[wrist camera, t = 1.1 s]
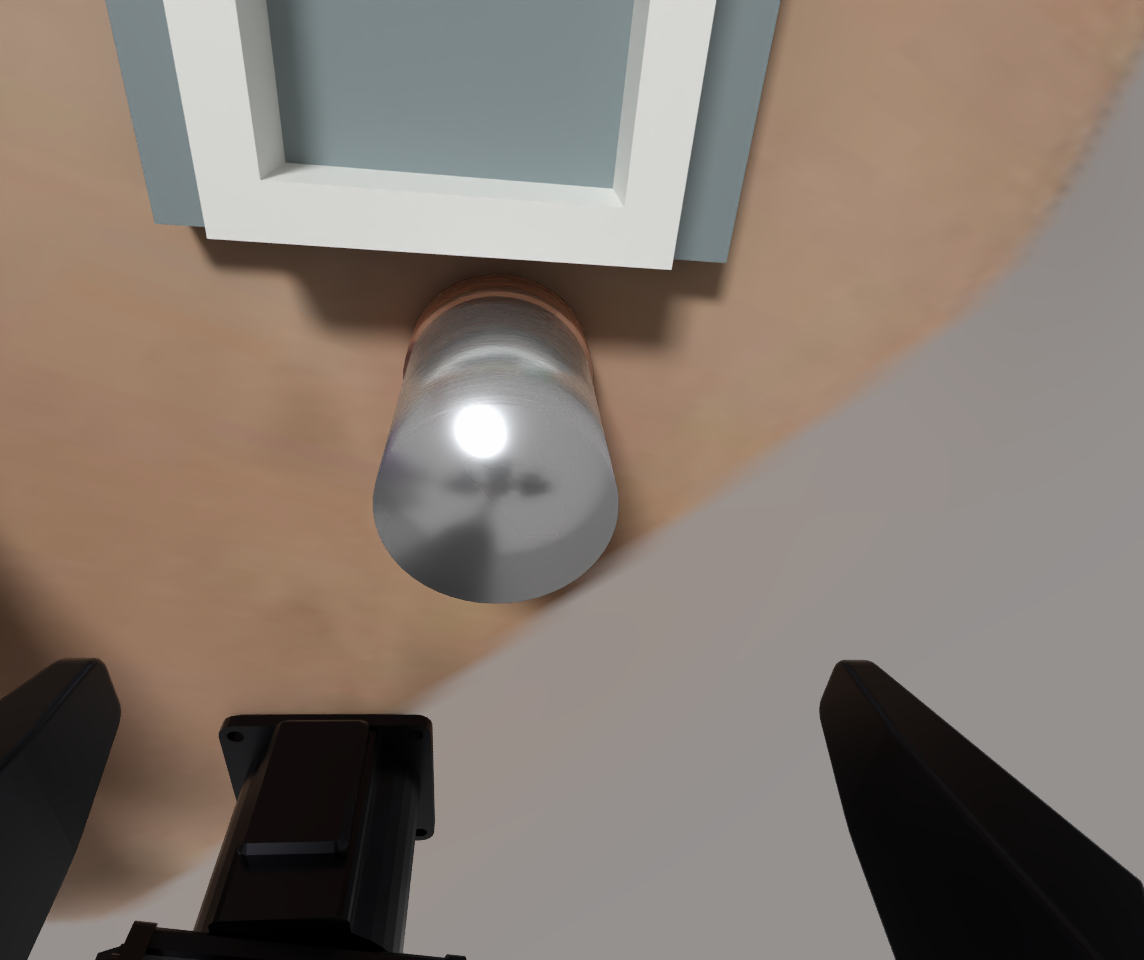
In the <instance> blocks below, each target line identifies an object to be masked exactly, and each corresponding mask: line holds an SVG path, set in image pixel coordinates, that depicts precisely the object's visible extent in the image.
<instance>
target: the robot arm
mask: <svg viewBox="0 0 1144 960" xmlns="http://www.w3.org/2000/svg"><path fill="white" fill-rule="evenodd" d="M819 710H820V711H819V712H820V720H821V724H822V728H823V732H824V736H825V740H826V744H827V748H828V752H829V756H830V760H831V764H832V768H833V772H834V776H835V780H836V784H837V788H838V791H839V795H840V799H841V803H842V807H843V811H844V815H845V819H846V822H847V826H848V829H849V833H850V835H851V839H852V842H853V844H854V847H855V850H856V853H857V856H858V858H859V861H860V864H861V867H862V870H863V872H864V875H865V878H866V881H867V883H868V886H869V889H870V891H871V894H872V897H873V899H874V902H875V905H876V908H877V911H878V913H879V916H880V919H881V921H882V924H883V927H884V929H885V932H886V935H887V938H888V941H889V943H890V946H891V949H892V952H893V954H894V957H895V960H1144V887H1143V884H1142V882H1141V881H1140V880H1139V879H1138V878H1137V877H1135V876H1134V875H1133V874H1132V873H1130V872H1129V871H1128V870H1127V869H1126V868H1124V867H1123V866H1122V865H1121V864H1120V863H1118V862H1117V861H1116V860H1115V859H1113V858H1112V857H1111V856H1110V855H1109V854H1107V853H1106V852H1105V851H1104V850H1102V849H1101V848H1100V847H1099V846H1098V845H1096V844H1095V843H1094V842H1092V841H1091V840H1090V839H1089V838H1088V837H1086V836H1085V835H1084V834H1083V833H1081V832H1080V831H1079V830H1078V829H1077V828H1075V827H1074V826H1073V825H1072V824H1071V823H1069V822H1068V821H1067V820H1065V819H1064V818H1063V817H1062V816H1061V815H1059V814H1058V813H1057V812H1056V811H1055V810H1053V809H1052V808H1051V807H1050V806H1048V805H1047V804H1046V803H1045V802H1044V801H1042V800H1041V799H1040V798H1039V797H1038V796H1036V795H1035V794H1034V793H1033V792H1031V791H1030V790H1029V789H1028V788H1026V787H1025V786H1024V785H1023V784H1021V783H1020V782H1019V781H1018V780H1017V779H1016V778H1014V777H1013V776H1012V775H1011V774H1009V773H1008V772H1007V771H1006V770H1005V769H1003V768H1002V767H1001V766H1000V765H998V764H997V763H996V762H995V761H994V760H992V759H991V758H990V757H989V756H987V755H986V754H985V753H984V752H982V751H981V750H980V749H979V748H978V747H976V746H975V745H974V744H972V743H971V742H970V741H969V740H968V739H967V738H965V737H964V736H963V735H962V734H960V733H959V732H958V731H957V730H956V729H954V728H953V727H952V726H951V725H949V724H948V723H947V722H946V721H945V720H943V719H942V718H941V717H940V716H938V715H937V714H936V713H935V712H934V711H932V710H931V709H930V708H929V707H927V706H926V705H925V704H924V703H923V702H921V701H920V700H919V699H918V698H916V697H915V696H914V695H913V694H912V693H910V692H909V691H908V690H907V689H905V688H904V687H903V686H902V685H901V684H899V683H898V682H897V681H896V680H894V679H893V678H892V677H891V676H890V675H888V674H887V673H886V672H885V671H883V670H882V669H881V668H880V667H878V666H877V665H876V664H874V663H873V662H871V661H867V660H842V661H840V662H838V663H837V664H836V665H835V667H834V669H833V672H832V674H831V676H830V679H829V681H828V684H827V686H826V689H825V691H824V693H823V696H822V698H821V702H820V708H819ZM120 717H121V708H120V702H119V700H118V697H117V694H116V692H115V689H114V686H113V684H112V681H111V678H110V676H109V673H108V670H107V668H106V666H105V664H104V663H103V662H102V661H101V660H100V659H96V658H64V659H60V660H58V661H56V662H54V663H53V664H51V665H50V666H48V667H47V668H45V669H44V670H43V671H41V672H40V673H38V674H37V675H35V676H34V677H32V678H31V679H30V680H28V681H27V682H25V683H24V684H22V685H21V686H20V687H18V688H17V689H15V690H14V691H12V692H11V693H10V694H8V695H7V696H5V697H4V698H2V699H1V700H0V960H27V959H28V957H29V954H30V952H31V950H32V948H33V946H34V944H35V941H36V939H37V937H38V935H39V933H40V930H41V928H42V926H43V924H44V922H45V920H46V917H47V915H48V913H49V911H50V909H51V906H52V904H53V902H54V900H55V898H56V896H57V893H58V891H59V889H60V887H61V885H62V882H63V880H64V878H65V876H66V874H67V871H68V869H69V867H70V864H71V862H72V860H73V857H74V855H75V852H76V850H77V847H78V844H79V842H80V839H81V836H82V833H83V831H84V828H85V825H86V822H87V819H88V816H89V813H90V810H91V807H92V804H93V801H94V798H95V795H96V792H97V789H98V786H99V783H100V780H101V777H102V774H103V771H104V768H105V765H106V762H107V759H108V756H109V753H110V750H111V747H112V744H113V741H114V738H115V735H116V732H117V729H118V726H119V722H120ZM432 734H433V733H432V722H431V720H429V719H428V718H427V717H425V716H422V715H264V716H231V717H229V718H226V719H225V720H224V722H223V724H222V726H221V729H220V731H219V740H220V743H221V747H222V750H223V754H224V758H225V761H226V765H227V768H228V772H229V775H230V779H231V782H232V786H233V790H234V793H235V797H236V800H237V803H236V806H235V809H234V811H233V814H232V817H231V820H230V823H229V826H228V829H227V832H226V835H225V838H224V841H223V844H222V847H221V850H220V853H219V856H218V859H217V862H216V865H215V868H214V871H213V873H212V876H211V879H210V882H209V885H208V889H207V891H206V894H205V897H204V900H203V903H202V906H201V909H200V912H199V915H198V918H197V921H196V924H195V927H194V930H193V931H187V930H178V929H168V928H159V927H157V923H151V922H142V921H134V923H133V925H132V928H131V930H130V932H129V934H128V936H127V939H126V941H125V943H124V944H121V946H119V947H116V948H113V949H110V950H106V951H103V952H100V953H98V954H97V957H96V959H95V960H466V957H465V956H458V955H449V954H447V955H446V956H445V958H441V957H432V956H423V955H413V954H404V953H403V945H404V936H405V927H406V917H407V909H408V900H409V891H410V881H411V871H412V863H413V854H414V845H415V840H426V839H428V838H430V837H431V836H433V834H434V826H435V825H434V824H435V810H434V772H433V735H432Z"/></svg>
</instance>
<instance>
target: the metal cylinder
mask: <svg viewBox="0 0 1144 960" xmlns="http://www.w3.org/2000/svg"><path fill="white" fill-rule="evenodd" d="M593 380H594V377H593V367H592V363H591V359H590V355H589V351H588V347H587V343H586V338H585V335H584V332H583V330H582V327H581V325H580V323H579V321H578V319H577V318H576V316H575V314H574V313H573V312H572V310H571V309H570V308H569V306H568V305H567V304H566V303H565V302H564V301H563V300H562V299H561V298H560V297H558V296H557V295H556V294H555V293H553V292H552V291H551V290H549V289H547V288H546V287H544V286H542V285H540V284H538V283H536V282H533V281H531V280H528V279H525V278H521V277H517V276H511V275H504V274H490V275H482V276H477V277H473V278H469V279H466V280H463V281H461V282H459V283H456V284H454V285H452V286H451V287H449V288H447V289H446V290H444V291H443V292H442V293H440V294H439V295H438V296H436V297H435V298H434V299H433V300H432V301H431V302H430V304H429V305H428V306H427V307H426V308H425V310H424V311H423V313H422V314H421V315H420V317H419V319H418V321H417V323H416V325H415V328H414V331H413V334H412V337H411V340H410V344H409V347H408V351H407V355H406V358H405V364H404V371H403V384H402V388H401V391H400V395H399V399H398V402H397V406H396V409H395V413H394V417H393V420H392V424H391V428H390V431H389V435H388V439H387V442H386V446H385V450H384V453H383V457H382V461H381V464H380V468H379V472H378V475H377V479H376V483H375V488H374V494H373V513H374V520H375V524H376V528H377V531H378V534H379V536H380V538H381V540H382V542H383V544H384V546H385V548H386V549H387V551H388V552H389V554H390V555H391V557H392V558H393V559H394V560H395V561H396V562H397V563H398V565H399V566H400V567H401V568H402V569H403V570H405V571H406V572H407V573H408V574H409V575H411V576H412V577H413V578H414V579H416V580H418V581H419V582H421V583H422V584H424V585H425V586H427V587H429V588H431V589H433V590H435V591H437V592H440V593H443V594H445V595H448V596H451V597H454V598H458V599H462V600H466V601H472V602H479V603H494V604H495V603H512V602H520V601H526V600H530V599H534V598H538V597H541V596H544V595H547V594H550V593H552V592H554V591H556V590H558V589H561V588H563V587H565V586H566V585H568V584H570V583H571V582H573V581H575V580H576V579H577V578H579V577H580V576H581V575H582V574H584V573H585V572H586V571H587V570H588V569H589V568H590V567H591V566H592V565H593V564H594V563H595V562H596V561H597V560H598V559H599V557H600V556H601V555H602V553H603V552H604V550H605V549H606V547H607V545H608V544H609V542H610V540H611V537H612V535H613V532H614V530H615V526H616V522H617V518H618V507H619V501H618V490H617V486H616V482H615V477H614V473H613V469H612V465H611V460H610V456H609V452H608V447H607V443H606V439H605V435H604V430H603V426H602V422H601V417H600V413H599V409H598V405H597V400H596V396H595V392H594V387H593Z"/></svg>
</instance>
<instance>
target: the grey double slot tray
mask: <svg viewBox="0 0 1144 960" xmlns="http://www.w3.org/2000/svg"><path fill="white" fill-rule="evenodd" d="M105 1H106V5H107V10H108V14H109V19H110V23H111V28H112V32H113V37H114V41H115V46H116V50H117V55H118V59H119V64H120V68H121V73H122V77H123V82H124V87H125V91H126V96H127V100H128V105H129V109H130V114H131V118H132V123H133V127H134V132H135V136H136V141H137V145H138V150H139V154H140V159H141V163H142V168H143V172H144V177H145V181H146V186H147V190H148V195H149V199H150V204H151V208H152V213H153V217H154V222H155V224H169V225H183V226H198V227H205V230H206V236H207V239H220V240H234V241H249V242H264V243H279V244H294V245H309V246H324V247H338V248H353V249H368V250H383V251H398V252H413V253H427V254H442V255H457V256H472V257H487V258H502V259H516V260H531V261H546V262H561V263H576V264H591V265H606V266H620V267H635V268H650V269H665V270H672V264H673V259H675V260H690V261H704V262H719V263H726V262H727V257H728V252H729V247H730V242H731V237H732V233H733V228H734V223H735V218H736V213H737V208H738V204H739V199H740V194H741V189H742V184H743V179H744V175H745V170H746V165H747V160H748V155H749V150H750V146H751V141H752V136H753V131H754V126H755V121H756V117H757V112H758V107H759V102H760V97H761V92H762V88H763V83H764V78H765V73H766V68H767V63H768V59H769V54H770V49H771V44H772V39H773V34H774V30H775V25H776V20H777V15H778V10H779V5H780V1H781V0H105Z"/></svg>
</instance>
